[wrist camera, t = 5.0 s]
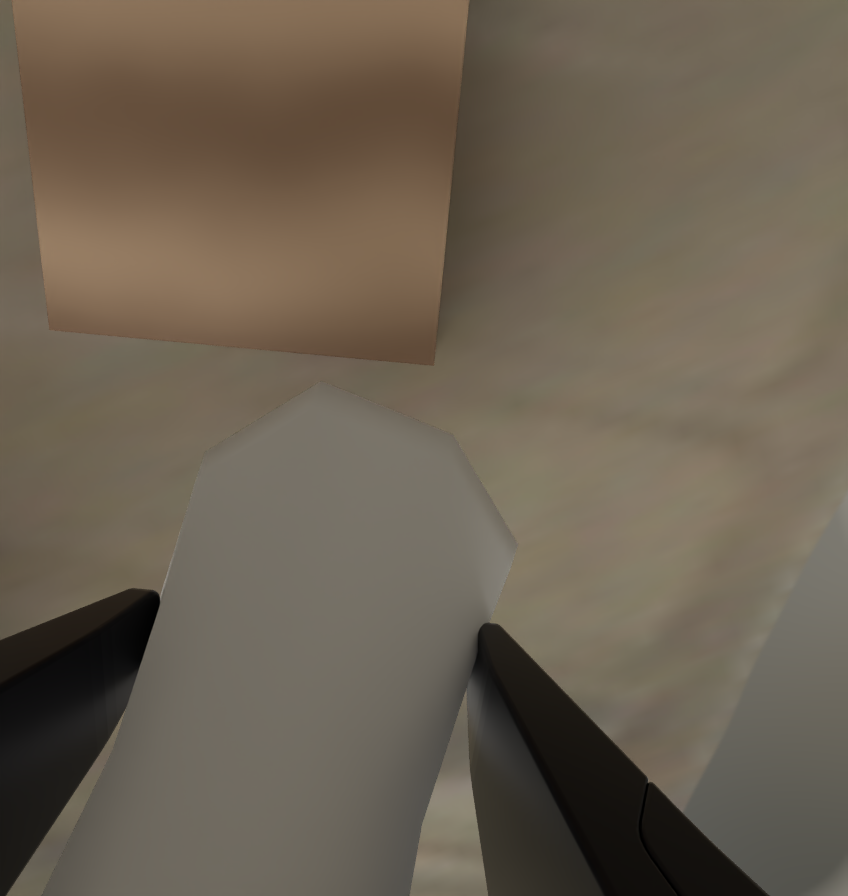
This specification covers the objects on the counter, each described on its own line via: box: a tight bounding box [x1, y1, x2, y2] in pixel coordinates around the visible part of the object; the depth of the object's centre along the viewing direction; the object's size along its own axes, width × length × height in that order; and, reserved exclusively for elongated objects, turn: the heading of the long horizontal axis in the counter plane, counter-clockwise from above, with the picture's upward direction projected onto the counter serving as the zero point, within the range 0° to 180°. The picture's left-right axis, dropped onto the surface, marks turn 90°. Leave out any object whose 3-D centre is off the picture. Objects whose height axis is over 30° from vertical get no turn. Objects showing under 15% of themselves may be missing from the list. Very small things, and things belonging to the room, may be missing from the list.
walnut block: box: [12, 0, 469, 366], centre depth 15 cm, size 12×12×4 cm
